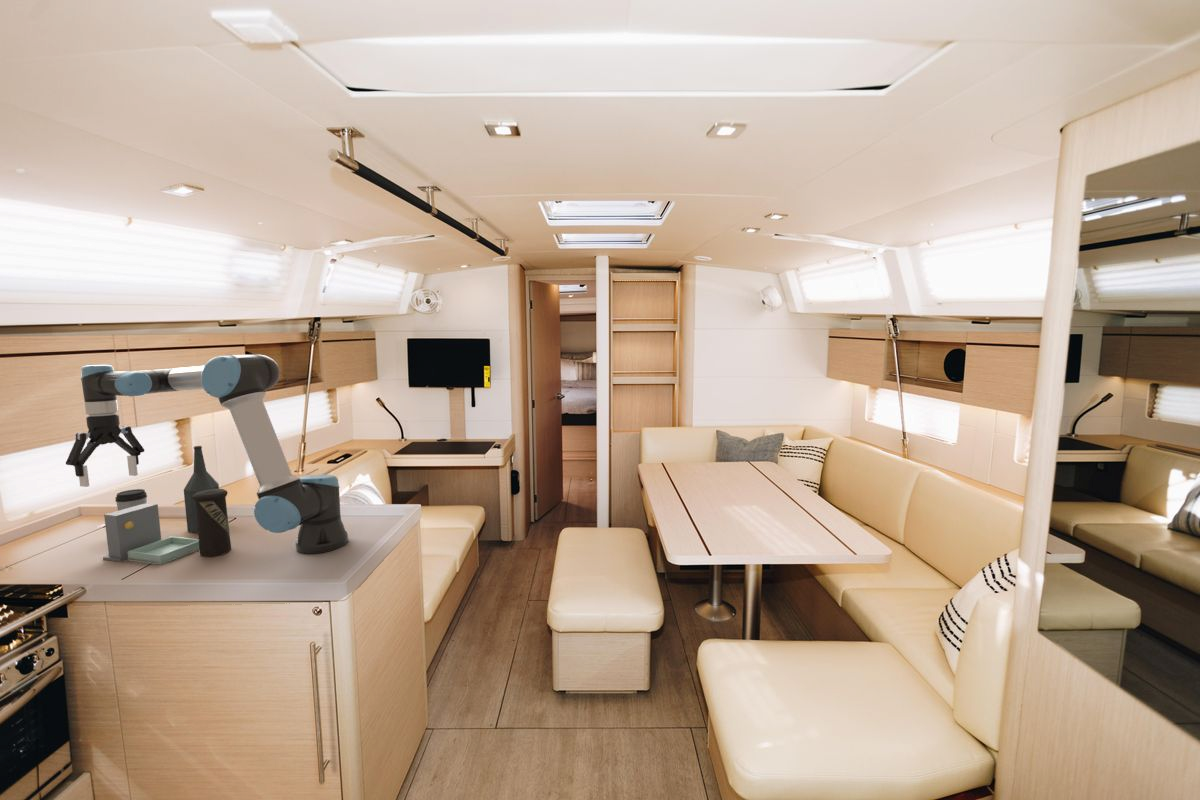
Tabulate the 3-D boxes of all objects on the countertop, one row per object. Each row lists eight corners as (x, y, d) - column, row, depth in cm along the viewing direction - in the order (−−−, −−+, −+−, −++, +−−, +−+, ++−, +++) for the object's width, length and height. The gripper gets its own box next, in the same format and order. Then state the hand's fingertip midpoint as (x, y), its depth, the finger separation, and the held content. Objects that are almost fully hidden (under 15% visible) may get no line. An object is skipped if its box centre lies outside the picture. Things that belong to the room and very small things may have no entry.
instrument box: (167, 544, 177) (163, 503, 175) (119, 561, 163) (114, 517, 162) (151, 542, 178) (147, 501, 177) (103, 559, 165) (98, 515, 163)
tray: (203, 548, 173) (202, 539, 173) (161, 564, 161) (160, 555, 160) (172, 544, 177) (171, 536, 176) (128, 560, 164) (127, 551, 164)
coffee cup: (154, 532, 188) (150, 490, 186) (124, 540, 181) (119, 496, 180) (145, 528, 193) (141, 487, 191) (115, 535, 186) (110, 493, 184)
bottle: (181, 531, 189) (172, 447, 186) (209, 522, 198) (202, 442, 195) (200, 535, 185) (192, 449, 182) (229, 525, 194) (221, 444, 191)
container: (215, 558, 165) (209, 495, 163) (191, 556, 167) (184, 493, 165) (239, 547, 173) (233, 487, 171) (216, 545, 175) (210, 486, 173)
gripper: (136, 409, 181) (143, 470, 183) (44, 419, 157) (53, 490, 159) (153, 409, 179) (160, 471, 181) (62, 420, 155) (71, 492, 157)
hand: (110, 480), depth 170 cm, fingers open, 13 cm apart
